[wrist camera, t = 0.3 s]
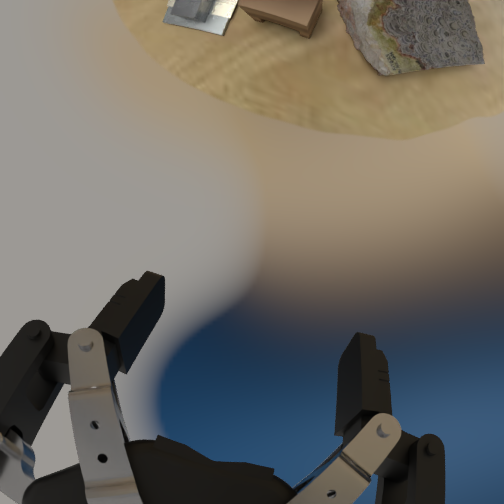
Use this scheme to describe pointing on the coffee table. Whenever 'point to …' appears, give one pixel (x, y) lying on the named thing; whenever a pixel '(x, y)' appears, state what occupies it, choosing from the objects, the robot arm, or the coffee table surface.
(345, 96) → the coffee table surface
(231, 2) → the grey and brown stand
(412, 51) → the geological specimen
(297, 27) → the brown wooden block
